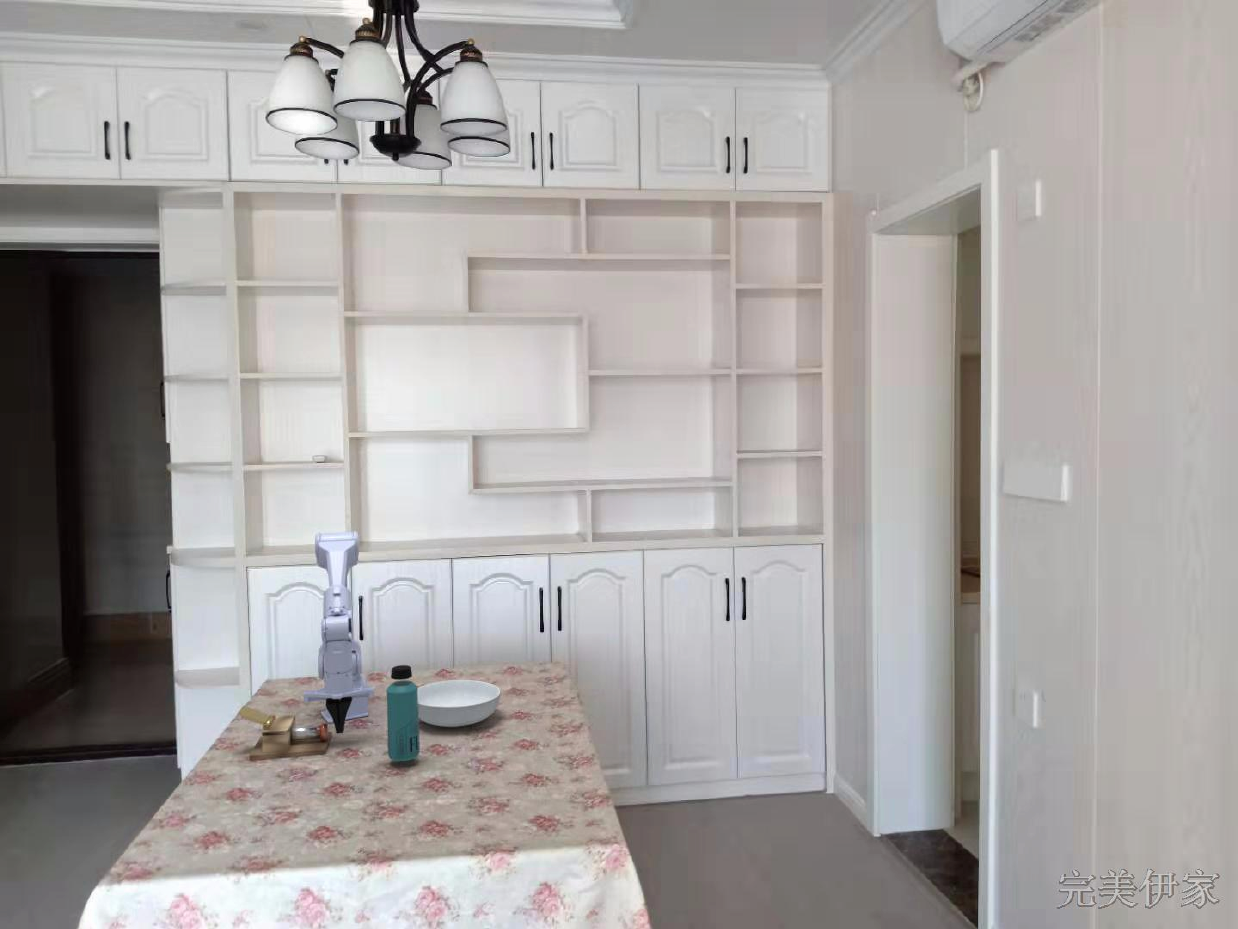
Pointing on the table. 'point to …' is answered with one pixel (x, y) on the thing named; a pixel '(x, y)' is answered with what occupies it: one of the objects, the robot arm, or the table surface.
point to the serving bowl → (457, 702)
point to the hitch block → (285, 741)
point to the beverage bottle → (402, 716)
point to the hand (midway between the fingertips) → (340, 731)
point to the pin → (309, 732)
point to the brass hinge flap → (255, 715)
